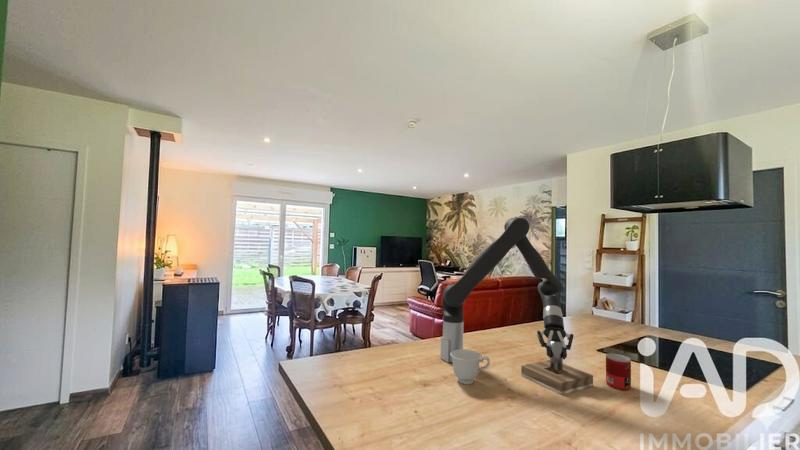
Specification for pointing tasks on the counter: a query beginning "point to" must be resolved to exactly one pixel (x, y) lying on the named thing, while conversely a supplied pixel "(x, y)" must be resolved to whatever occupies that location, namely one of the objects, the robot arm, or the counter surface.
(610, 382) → the canned food
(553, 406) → the counter surface
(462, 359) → the teacup
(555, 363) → the post
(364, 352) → the counter surface
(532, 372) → the socket base
